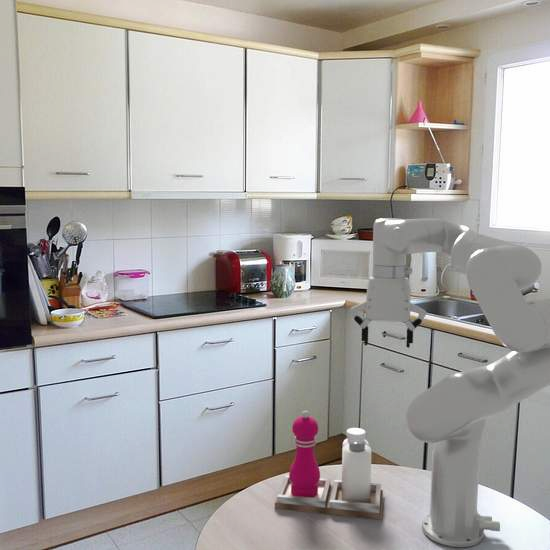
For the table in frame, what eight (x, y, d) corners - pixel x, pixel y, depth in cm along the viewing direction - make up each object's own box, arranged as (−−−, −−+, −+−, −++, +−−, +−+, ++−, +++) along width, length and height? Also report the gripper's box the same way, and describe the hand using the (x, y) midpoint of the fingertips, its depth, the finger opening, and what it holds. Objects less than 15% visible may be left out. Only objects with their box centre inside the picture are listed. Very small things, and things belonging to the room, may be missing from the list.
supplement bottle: (372, 478, 158) (374, 429, 157) (361, 488, 153) (363, 438, 151) (348, 471, 162) (349, 424, 160) (337, 481, 156) (338, 432, 155)
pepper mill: (317, 501, 143) (319, 417, 140) (286, 498, 144) (287, 415, 142) (321, 487, 150) (323, 406, 147) (291, 484, 151) (292, 404, 149)
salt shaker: (371, 493, 147) (372, 437, 146) (369, 507, 141) (370, 449, 139) (342, 490, 149) (343, 435, 147) (340, 504, 142) (341, 447, 140)
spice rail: (382, 495, 149) (383, 484, 149) (381, 519, 139) (381, 506, 138) (283, 486, 154) (283, 474, 154) (274, 508, 143) (274, 496, 143)
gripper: (427, 271, 146) (424, 343, 148) (352, 269, 149) (350, 339, 152) (428, 275, 139) (425, 351, 141) (349, 273, 142) (348, 347, 144)
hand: (386, 345), depth 146 cm, fingers open, 9 cm apart
